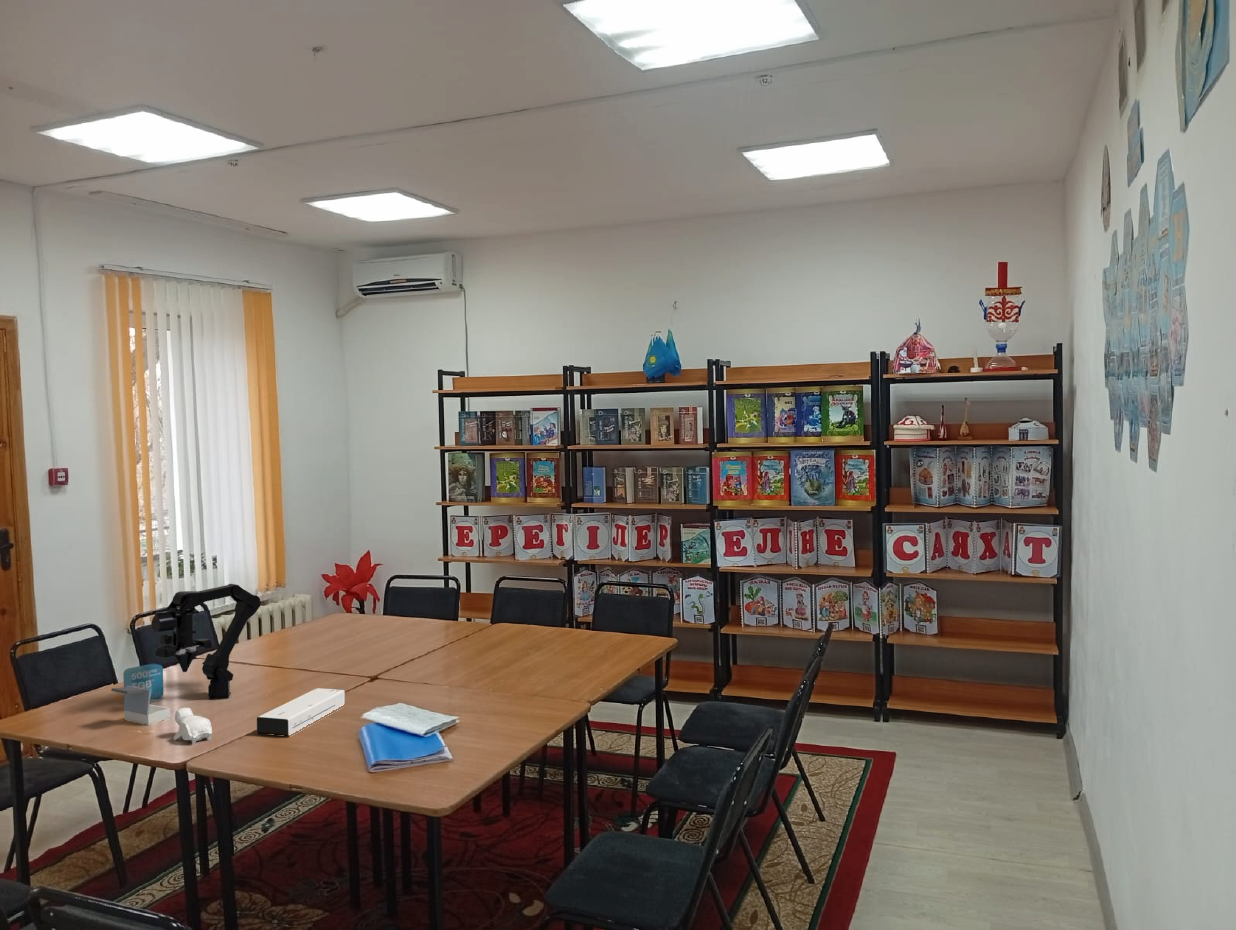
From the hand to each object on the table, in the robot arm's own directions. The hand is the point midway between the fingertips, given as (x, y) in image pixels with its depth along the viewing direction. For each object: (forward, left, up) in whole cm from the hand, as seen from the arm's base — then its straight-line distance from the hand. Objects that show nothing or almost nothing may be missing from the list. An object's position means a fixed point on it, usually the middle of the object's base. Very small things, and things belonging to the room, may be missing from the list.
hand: (184, 671), depth 320 cm
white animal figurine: (-9, +38, -12) cm, 41 cm away
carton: (+9, +13, -12) cm, 20 cm away
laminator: (-41, +28, -13) cm, 51 cm away
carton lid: (+12, +16, -5) cm, 20 cm away
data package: (+16, -12, -12) cm, 23 cm away
